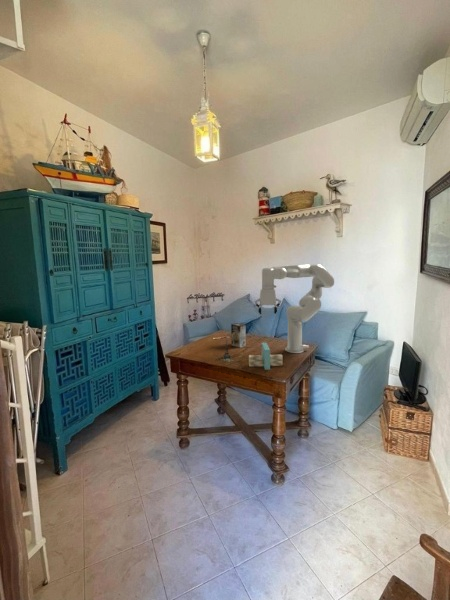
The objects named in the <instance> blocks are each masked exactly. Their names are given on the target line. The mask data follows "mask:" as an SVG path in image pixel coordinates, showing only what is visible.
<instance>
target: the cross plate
mask: <svg viewBox="0 0 450 600" xmlns="http://www.w3.org/2000/svg"><path fill="white" fill-rule="evenodd" d="M270 355H271V349H270V347H269V345H268V343H267V342H261V356H262V360H263V361H264V366H263V368H264V370H265V371H267V370H268V371H269V370H271V366H270Z"/></svg>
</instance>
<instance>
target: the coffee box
mask: <svg viewBox="0 0 450 600" xmlns="http://www.w3.org/2000/svg"><path fill="white" fill-rule="evenodd" d="M230 328H231V329H230V330H231V331H230V332H231V333H230V334H231V338H230V339H231V346H233V347H236V348H243V347H246V346H247V345H246V344H247V343H246V342H247V341H246V337H247V335H246V333H247V332H246V331H247V330H246V328H247V326H246V324H244V323H238V322H236V323H231V326H230Z"/></svg>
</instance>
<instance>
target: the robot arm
mask: <svg viewBox="0 0 450 600" xmlns="http://www.w3.org/2000/svg"><path fill="white" fill-rule="evenodd" d="M285 278H289V279H301V278H312V280H311V288H310V290H309V291H308V292H307V293H306V294H305V295H304V296H302V297H301V299H300V300H299V302H298V305H294V304H293V305H290V306H288V308H287V309H286V318H287V346H286V347H285V348H284V349H285V352H287V353H291V354H301V353H304V351H305V349H309V347H310V346H309V344H308V345H306V344H303V323H306V322H308V321H309V320H311V318H312V317H314V316H315V315H316V314H317V313H318V312H319V311H320V309H321V307H322V301H321V300H320V299H321V298H322V295H323V289H331V288H332V287H333V286H334V285H335V278H334V277H333V275H332V274H331V273H330V272H329V271H328V270H327V269H326V268H325V267H324V266H322V265H321V264H315V263H313V264H312V263H311V264H298V265H297V264H295V265H282V266H272V267H267V268H262V270H261V289H260V292H259V298H258V299H256V300H254V304H255V305H256V307H257V308H258V314H260V315H262V306H274V307H273V308H274V309H273V313H274V315H276V314H277V312H278V307H279V306H280V305H281V303H282V300H281V299H278V298H277V297H276V296H277V295H276V289H275V288H277V285H275V280H284V279H285ZM258 302H259V304H258Z"/></svg>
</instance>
